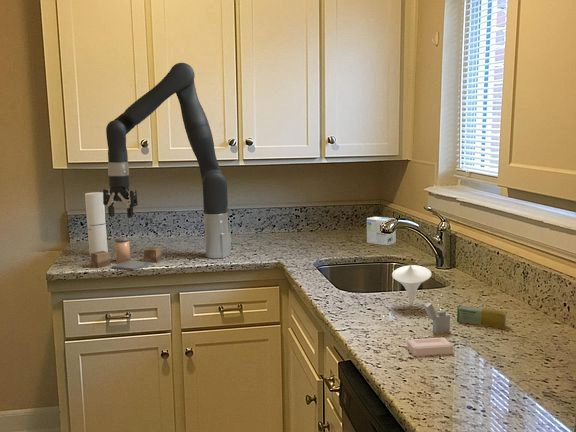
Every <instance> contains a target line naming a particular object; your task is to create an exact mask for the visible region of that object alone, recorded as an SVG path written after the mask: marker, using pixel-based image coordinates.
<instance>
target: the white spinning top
mask: <svg viewBox="0 0 576 432" xmlns="http://www.w3.org/2000/svg"><path fill="white" fill-rule="evenodd" d="M391 276H392V278H393V279H394V280H395V281H397V282H399V283H400V285H402V286H403V287H404V289H405V291H406V294H407V297H408V303H409V306H411V307H412V306H413V305H414V299H415V297H416V293H417V291H418V288H419V287H420V286H421V284H423V283H425V282H426V281H428V280H429V279H431V277H432V272H431V270H430V269H429V268H427V267H424V266H421V265H414V264H411V265H404V266H400V267H398V268H396V269H395V270H393V272H392V273H391Z"/></svg>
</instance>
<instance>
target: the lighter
mask: <svg viewBox="0 0 576 432" xmlns="http://www.w3.org/2000/svg"><path fill="white" fill-rule="evenodd" d="M422 306H423V308H424V311H425V313H426V316H427V317H428V319H430V320H432V333H433V334H436V335H439V334H443V333H449V332H450V331H451V314H450V313H447V311H446V310H444V309H442V310H436V311H437V313H436V311H435V308H434V306H433V304H432V303H431V302H428V301H427V302H425V303H424V304H423V305H422Z"/></svg>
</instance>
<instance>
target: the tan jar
mask: <svg viewBox="0 0 576 432" xmlns="http://www.w3.org/2000/svg"><path fill="white" fill-rule="evenodd" d="M114 242H115V243H114V245H115V257H116V258H115V260H116V263H118V264H120V263H123V262H126V261H129V260H131V247H130V246H131V245H130V236H118V237H114Z"/></svg>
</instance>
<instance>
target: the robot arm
mask: <svg viewBox="0 0 576 432" xmlns="http://www.w3.org/2000/svg"><path fill="white" fill-rule="evenodd" d="M195 77H196V76H195V71H194V68H193V67H192V66H191V65H190V64H189V63H186V62H178V63H175V64H174V65H172V66H171V68H170V70H169V71H168V73H166V75H165V76H164V77H163V78H162V79H161V80H160V81H159V82H158V83H157V84H156V85H154V86H153V87H152V88H151V89H150V90H148V91H147V92H146V93H145V94H143V95H142V96H140V97H139V98H138V99H137V100H135V101H134V102H133V103H132V104H130V105H129V106H128V107H127V108H126V109H125V110H124V112H122V113H121V114H120V115H118V116H117V117H116V118H115V119H113V120H111V121H109V122H108V123H107V125H106V128H105V133H106V141H107V143H106V144H107V158H108V159H107V160H108V166H107V173H108V175H107V176H108V187H109V188H105V189H104V188H103V190H102V192H103V204H104V206H107V210H108V216H109V218H110V217H115V216H116V215H115V204H116V202H120V203H121V202H123V204H125V206H126V215H127V216H126V218H128V219H132V218H133V217H134V207H137V206H138V204H139V203H138V194H137V190H135V189H133V190H130V184H131V183H130V167H129V159H128V148H127V134H129V133H130V132H131V131H132V130H133V129H134V128H135V127H136V126H138V125H140V124H141V123H142V122H144V120H146V119H148V117H150V115H152V114H153V113H154V112H155V111H156V110H157V109H158V108H159V107H160V106H161V105H163V103H164V102H165V101H166V100H168V99H169V98H170V97H172V95H174V94H175V95H176V97H177V99H178V103H179V107H180V111H181V118H182V121H183V126H184V129H185V133H186V137H187V139H188V142H189V145H190V147H191V150H192V152H193V155H194V156H195V158H196V161H197V165H198V168H199V172H200V176H201V185H202V197H203V202H202V203H203V220H204V221H203V225H204V227H203V228H204V230H203V231H204V247H205V248H204V249H205V251H204V252H205V257H206V258H208V259H209V258H210V259H224V258H226V257H229V256H232V240H231V231H229V221H228V220H229V219H228V218H229V217H228V216H229V215H228V202H229V200H228V183H227V179H226V177H225V176H224V173H223V172H222V170H221V168H220V165H219V162H218V159H217V156H216V151H215V143H214V138H213V133H212V129H211V127H210V124H209V119H208V117H207V115H206V113H205V111H204V109H203V107H202V104H201V102H200V100H199V97H198V93H197V88H196V84H195Z"/></svg>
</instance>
